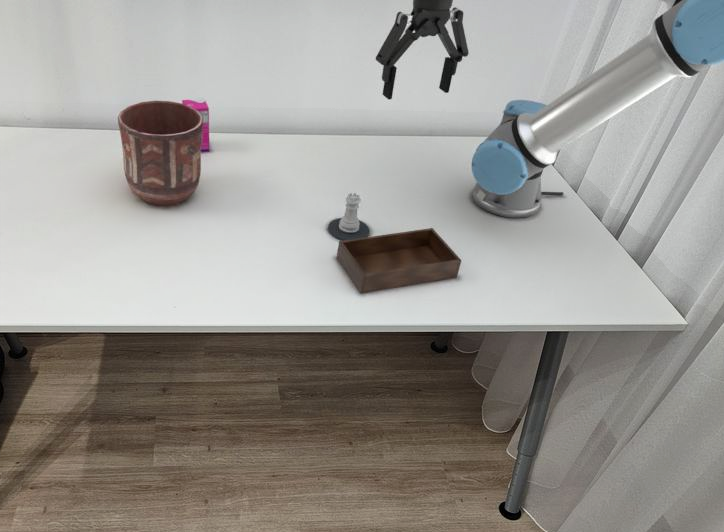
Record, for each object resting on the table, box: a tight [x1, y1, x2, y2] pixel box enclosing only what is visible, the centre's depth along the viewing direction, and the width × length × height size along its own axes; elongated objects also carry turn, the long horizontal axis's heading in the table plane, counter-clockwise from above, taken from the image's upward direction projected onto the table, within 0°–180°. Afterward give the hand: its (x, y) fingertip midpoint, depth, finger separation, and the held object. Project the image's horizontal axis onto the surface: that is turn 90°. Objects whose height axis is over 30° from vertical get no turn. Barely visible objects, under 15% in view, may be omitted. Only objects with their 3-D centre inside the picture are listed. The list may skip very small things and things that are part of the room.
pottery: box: [117, 100, 203, 207], centre depth 159 cm, size 18×18×18 cm
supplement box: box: [181, 97, 210, 153], centre depth 179 cm, size 6×6×12 cm
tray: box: [335, 227, 462, 295], centre depth 146 cm, size 21×12×4 cm, turn 108°
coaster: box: [327, 217, 371, 241], centre depth 157 cm, size 9×9×1 cm
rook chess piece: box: [339, 192, 362, 233], centre depth 154 cm, size 4×4×8 cm
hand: (415, 93), depth 153 cm, fingers open, 13 cm apart
